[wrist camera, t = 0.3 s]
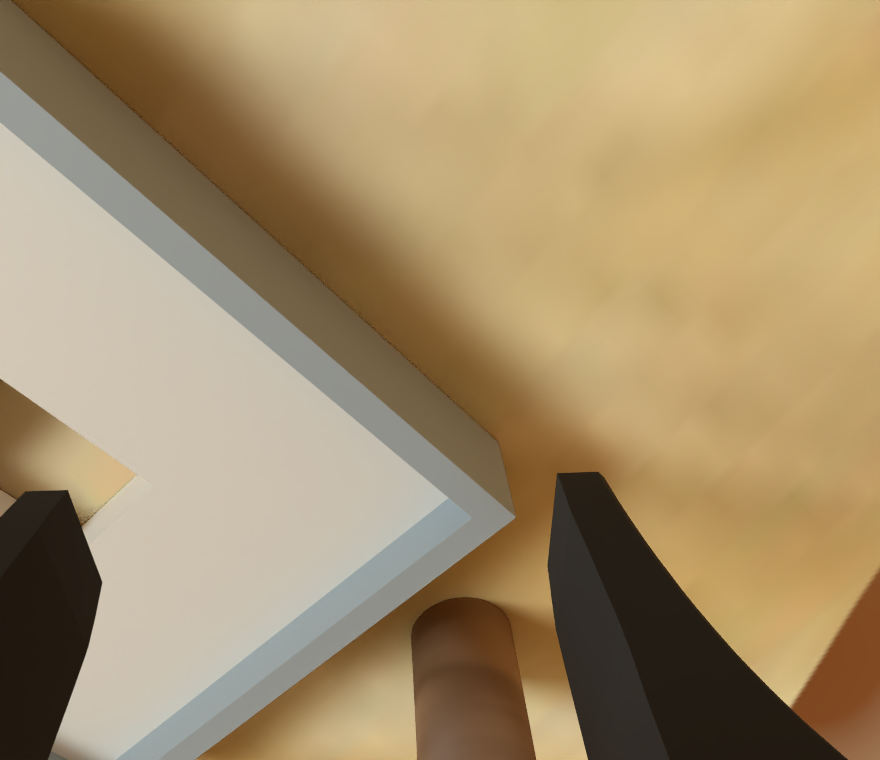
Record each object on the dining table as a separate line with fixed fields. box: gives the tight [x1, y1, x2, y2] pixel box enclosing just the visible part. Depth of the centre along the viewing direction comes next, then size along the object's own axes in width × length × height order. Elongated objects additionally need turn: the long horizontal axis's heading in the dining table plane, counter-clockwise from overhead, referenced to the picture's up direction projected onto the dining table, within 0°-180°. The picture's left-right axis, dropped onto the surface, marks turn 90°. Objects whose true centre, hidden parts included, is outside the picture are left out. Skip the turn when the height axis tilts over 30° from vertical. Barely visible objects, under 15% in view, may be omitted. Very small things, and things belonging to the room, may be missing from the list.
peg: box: [411, 598, 536, 760], centre depth 26 cm, size 3×3×6 cm
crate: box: [0, 0, 516, 760], centre depth 22 cm, size 18×18×4 cm
